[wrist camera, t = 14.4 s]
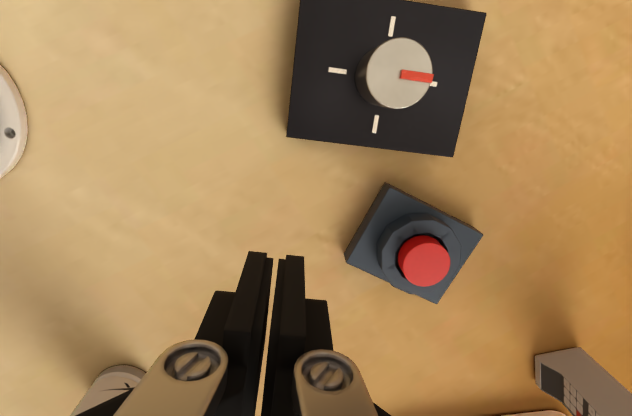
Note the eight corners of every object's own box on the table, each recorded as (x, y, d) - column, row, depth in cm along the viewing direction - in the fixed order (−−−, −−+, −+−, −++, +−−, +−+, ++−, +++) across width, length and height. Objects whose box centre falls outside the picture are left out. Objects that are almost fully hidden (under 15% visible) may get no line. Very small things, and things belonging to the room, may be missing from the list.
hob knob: (350, 102, 30) (361, 104, 25) (360, 42, 28) (373, 31, 23) (404, 109, 30) (426, 113, 25) (416, 51, 29) (441, 42, 24)
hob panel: (287, 133, 33) (286, 137, 30) (301, -7, 30) (301, -17, 27) (442, 152, 34) (454, 157, 31) (472, 19, 31) (487, 12, 28)
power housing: (343, 254, 36) (348, 272, 32) (384, 181, 34) (395, 192, 30) (429, 293, 38) (444, 316, 34) (474, 227, 36) (494, 243, 32)
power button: (388, 266, 33) (393, 275, 31) (412, 227, 32) (419, 234, 30) (427, 284, 33) (434, 294, 32) (451, 246, 32) (459, 255, 31)
